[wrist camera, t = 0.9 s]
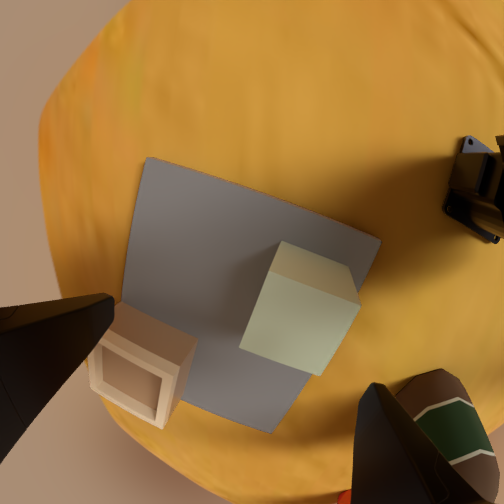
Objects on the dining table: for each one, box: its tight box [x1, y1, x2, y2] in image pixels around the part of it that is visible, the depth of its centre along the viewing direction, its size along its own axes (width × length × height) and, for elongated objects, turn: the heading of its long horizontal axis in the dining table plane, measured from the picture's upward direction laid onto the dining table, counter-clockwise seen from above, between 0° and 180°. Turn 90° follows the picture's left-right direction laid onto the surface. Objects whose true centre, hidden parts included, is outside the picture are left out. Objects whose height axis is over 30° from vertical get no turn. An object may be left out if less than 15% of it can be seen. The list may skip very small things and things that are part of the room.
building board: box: [88, 157, 382, 434], centre depth 21 cm, size 18×22×6 cm
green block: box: [239, 241, 361, 376], centre depth 17 cm, size 5×5×6 cm
